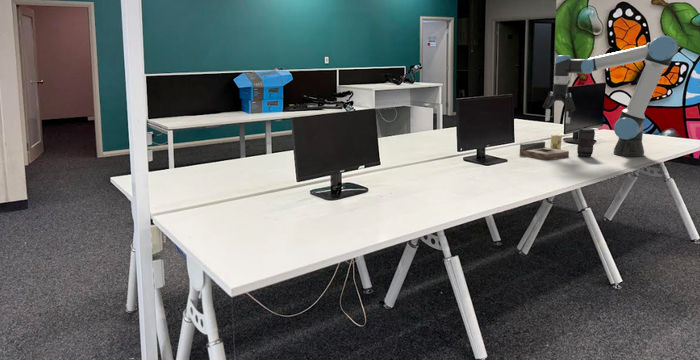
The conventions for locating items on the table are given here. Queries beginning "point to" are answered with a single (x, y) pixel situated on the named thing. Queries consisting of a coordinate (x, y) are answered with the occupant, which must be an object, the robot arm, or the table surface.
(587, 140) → the camera lens
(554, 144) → the brass sleeve
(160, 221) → the table surface
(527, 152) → the plate
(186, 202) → the table surface
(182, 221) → the table surface
